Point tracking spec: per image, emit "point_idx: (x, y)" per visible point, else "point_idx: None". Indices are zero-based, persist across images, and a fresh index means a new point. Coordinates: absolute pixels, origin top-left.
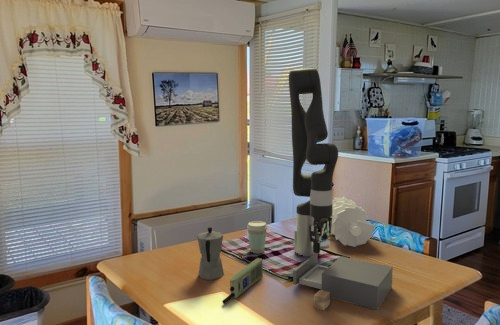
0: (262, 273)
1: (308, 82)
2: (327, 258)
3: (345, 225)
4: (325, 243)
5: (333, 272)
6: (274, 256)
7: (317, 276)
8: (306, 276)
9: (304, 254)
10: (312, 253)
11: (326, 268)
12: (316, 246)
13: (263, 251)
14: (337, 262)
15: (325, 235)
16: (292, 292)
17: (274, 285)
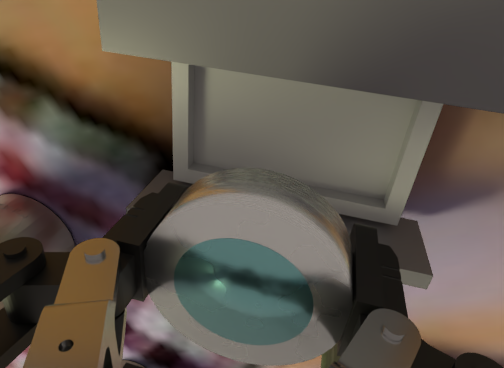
0: (330, 349)
1: None
2: (23, 146)
3: None
4: (319, 235)
5: (478, 19)
6: (141, 328)
7: (297, 144)
8: (341, 196)
9: (67, 244)
10: (41, 218)
11: (190, 120)
12: (400, 301)
13: (129, 362)
14: (233, 45)
15: (122, 281)
16: (461, 215)
17: (404, 291)
